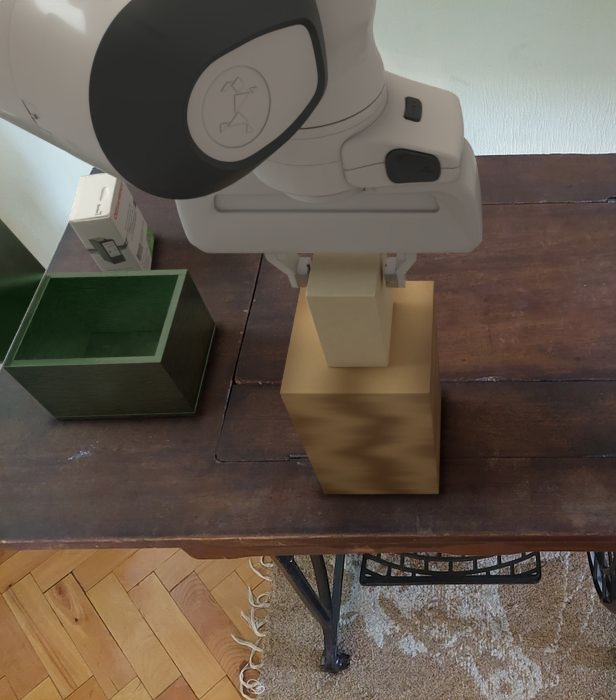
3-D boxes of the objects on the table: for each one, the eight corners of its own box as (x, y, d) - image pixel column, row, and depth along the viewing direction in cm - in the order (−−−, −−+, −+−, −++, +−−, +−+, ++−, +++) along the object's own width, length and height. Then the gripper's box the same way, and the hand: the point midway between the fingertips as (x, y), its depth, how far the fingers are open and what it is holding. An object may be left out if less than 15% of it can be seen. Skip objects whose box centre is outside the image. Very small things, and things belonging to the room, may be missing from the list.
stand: (324, 494, 68) (279, 393, 52) (337, 396, 75) (301, 280, 59) (438, 494, 68) (429, 393, 52) (441, 396, 75) (434, 280, 59)
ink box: (119, 242, 90) (77, 173, 80) (156, 237, 90) (119, 168, 81) (111, 288, 85) (65, 221, 75) (150, 283, 85) (110, 215, 76)
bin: (217, 328, 81) (187, 268, 72) (196, 416, 74) (160, 362, 65) (91, 331, 81) (45, 272, 72) (57, 420, 73) (1, 366, 64)
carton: (327, 367, 53) (305, 296, 46) (337, 301, 57) (318, 226, 50) (388, 367, 53) (375, 296, 46) (393, 301, 57) (382, 226, 50)
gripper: (125, 160, 37) (205, 313, 48) (486, 160, 37) (481, 313, 48) (156, 95, 41) (223, 251, 52) (484, 95, 41) (480, 251, 52)
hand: (350, 281), depth 50 cm, fingers open, 6 cm apart
